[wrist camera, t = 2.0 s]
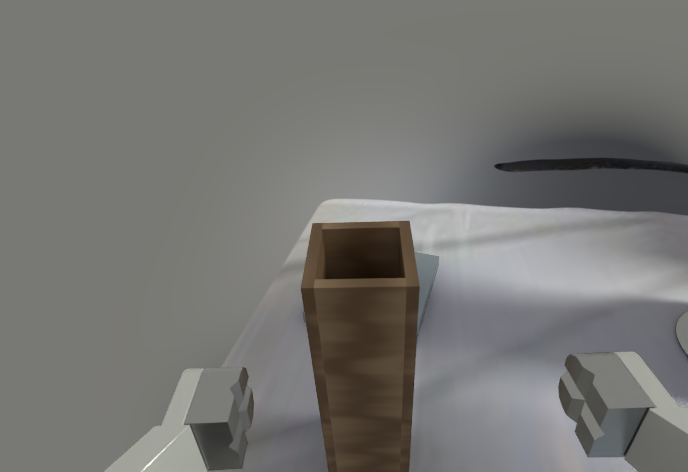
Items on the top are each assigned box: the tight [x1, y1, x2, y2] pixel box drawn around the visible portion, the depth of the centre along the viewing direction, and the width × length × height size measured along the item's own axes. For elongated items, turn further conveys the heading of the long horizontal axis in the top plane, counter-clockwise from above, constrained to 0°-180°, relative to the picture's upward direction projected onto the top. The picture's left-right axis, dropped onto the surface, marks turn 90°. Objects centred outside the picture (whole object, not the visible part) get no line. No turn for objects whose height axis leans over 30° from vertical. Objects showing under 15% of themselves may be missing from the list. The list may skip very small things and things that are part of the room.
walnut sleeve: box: [301, 221, 420, 472], centre depth 33 cm, size 6×6×24 cm
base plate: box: [303, 252, 439, 336], centre depth 56 cm, size 14×16×8 cm
